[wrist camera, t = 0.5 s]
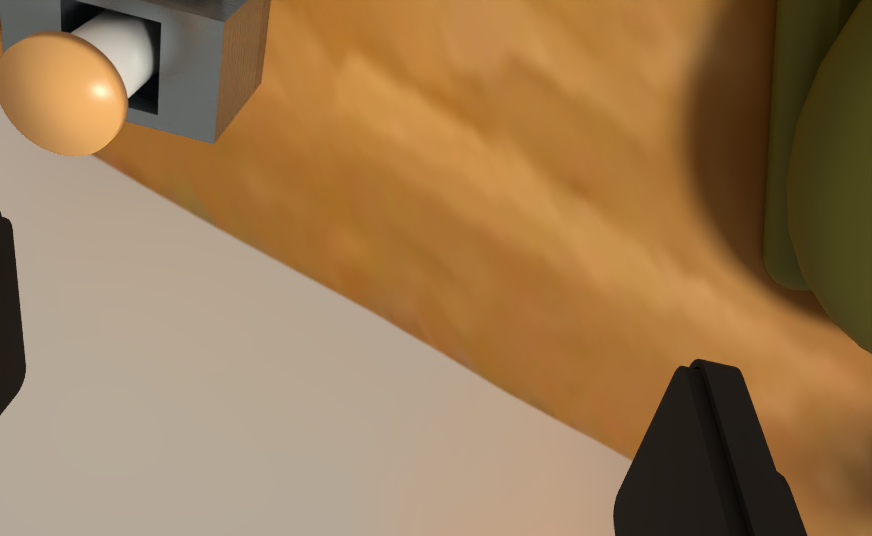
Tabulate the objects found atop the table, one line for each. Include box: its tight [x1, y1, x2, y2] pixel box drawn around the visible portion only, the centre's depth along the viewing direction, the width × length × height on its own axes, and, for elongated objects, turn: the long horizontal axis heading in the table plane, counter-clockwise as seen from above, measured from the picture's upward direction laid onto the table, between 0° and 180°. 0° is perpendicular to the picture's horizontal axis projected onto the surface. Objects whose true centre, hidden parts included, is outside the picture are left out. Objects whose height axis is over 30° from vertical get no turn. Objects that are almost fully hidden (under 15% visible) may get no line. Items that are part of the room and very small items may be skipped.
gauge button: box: [0, 9, 161, 156], centre depth 36 cm, size 5×5×8 cm
